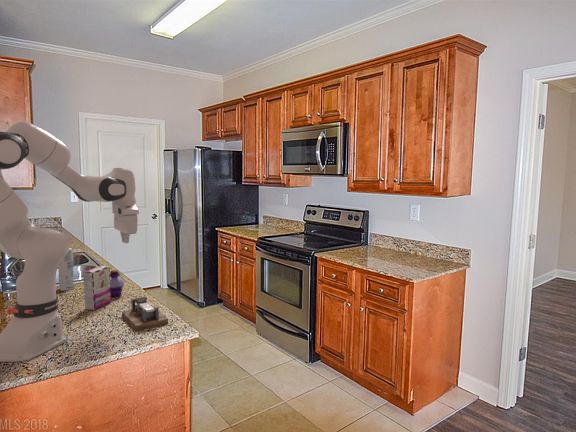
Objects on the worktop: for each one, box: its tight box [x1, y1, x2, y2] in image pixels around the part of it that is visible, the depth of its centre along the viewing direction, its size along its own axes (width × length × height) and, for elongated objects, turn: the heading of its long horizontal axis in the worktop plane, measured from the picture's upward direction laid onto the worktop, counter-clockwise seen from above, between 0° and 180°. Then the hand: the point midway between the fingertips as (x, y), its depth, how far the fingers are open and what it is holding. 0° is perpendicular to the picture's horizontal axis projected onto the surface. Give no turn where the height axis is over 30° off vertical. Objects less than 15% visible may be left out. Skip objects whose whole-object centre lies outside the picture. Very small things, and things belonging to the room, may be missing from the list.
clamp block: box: [130, 296, 160, 323], centre depth 151 cm, size 16×6×5 cm, turn 38°
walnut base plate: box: [121, 305, 169, 332], centre depth 152 cm, size 18×12×2 cm, turn 38°
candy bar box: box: [82, 265, 112, 311], centre depth 167 cm, size 11×5×16 cm, turn 168°
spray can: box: [57, 247, 75, 292], centre depth 191 cm, size 6×6×20 cm
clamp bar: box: [134, 296, 154, 313], centre depth 151 cm, size 14×3×1 cm, turn 38°
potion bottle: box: [110, 270, 125, 299], centre depth 181 cm, size 9×9×12 cm
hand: (125, 242), depth 158 cm, fingers closed
